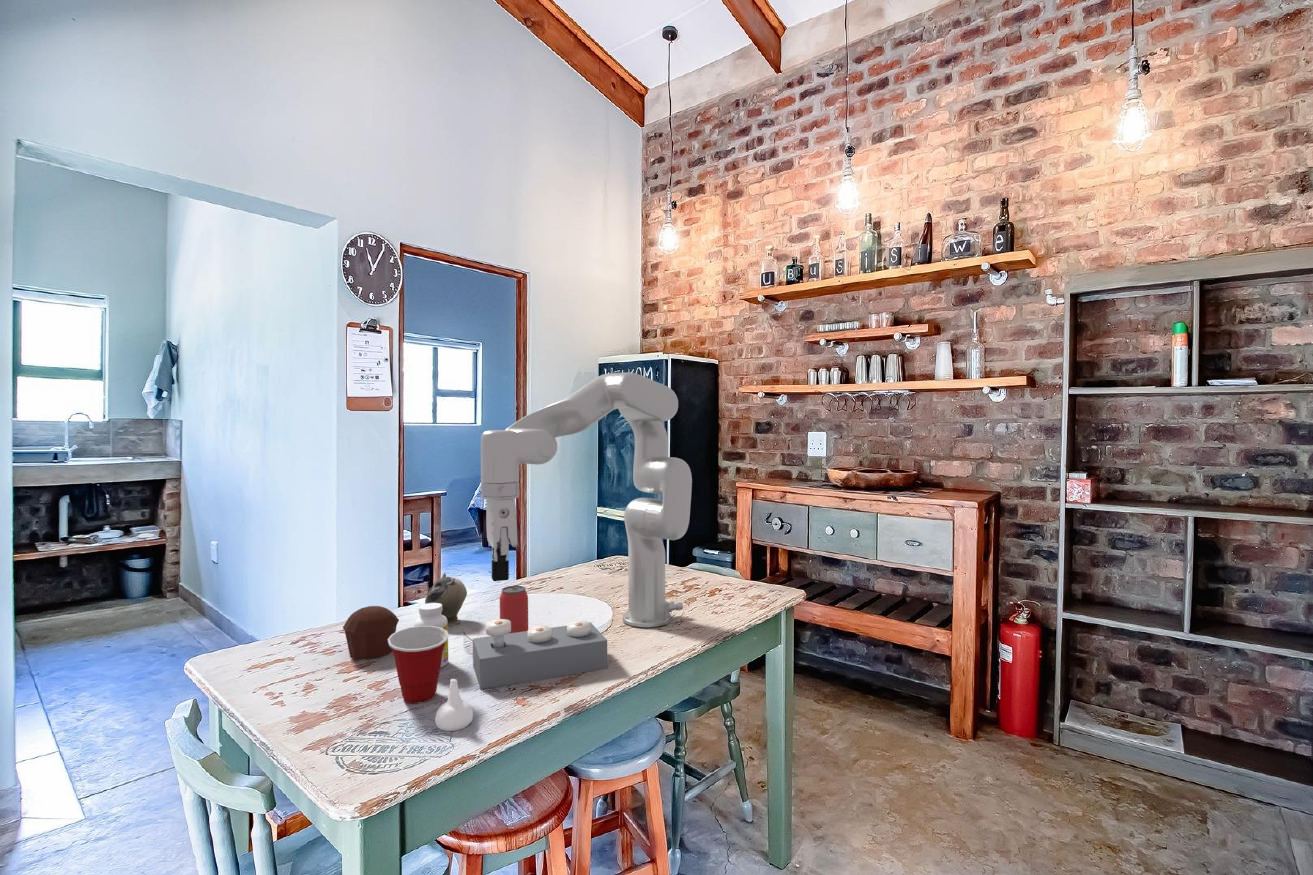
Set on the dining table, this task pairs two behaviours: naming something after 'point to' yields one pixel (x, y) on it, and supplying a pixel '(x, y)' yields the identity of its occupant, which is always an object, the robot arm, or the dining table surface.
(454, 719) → the garlic bulb
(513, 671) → the console
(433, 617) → the supplement bottle
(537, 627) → the knob middle
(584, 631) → the knob
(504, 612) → the beer can
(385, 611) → the muffin
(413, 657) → the plastic cup
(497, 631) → the knob
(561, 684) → the dining table surface
